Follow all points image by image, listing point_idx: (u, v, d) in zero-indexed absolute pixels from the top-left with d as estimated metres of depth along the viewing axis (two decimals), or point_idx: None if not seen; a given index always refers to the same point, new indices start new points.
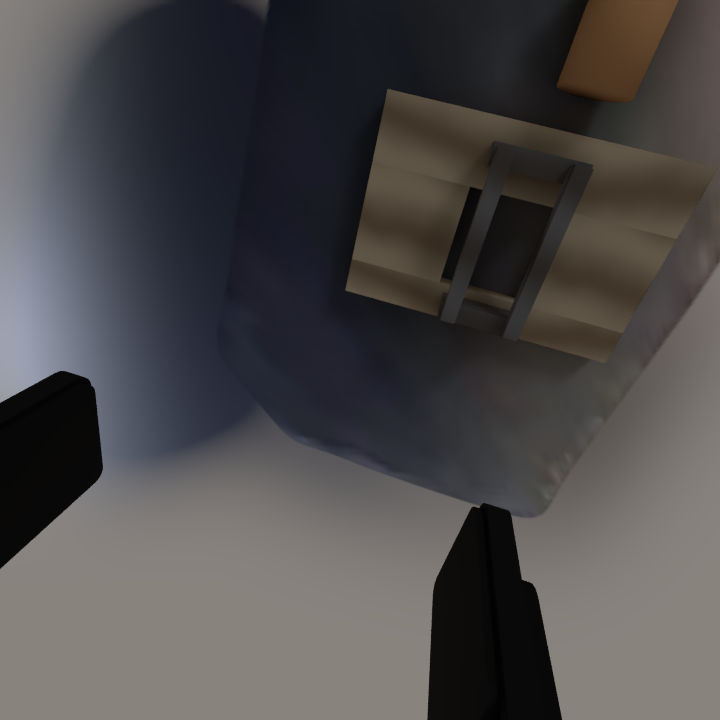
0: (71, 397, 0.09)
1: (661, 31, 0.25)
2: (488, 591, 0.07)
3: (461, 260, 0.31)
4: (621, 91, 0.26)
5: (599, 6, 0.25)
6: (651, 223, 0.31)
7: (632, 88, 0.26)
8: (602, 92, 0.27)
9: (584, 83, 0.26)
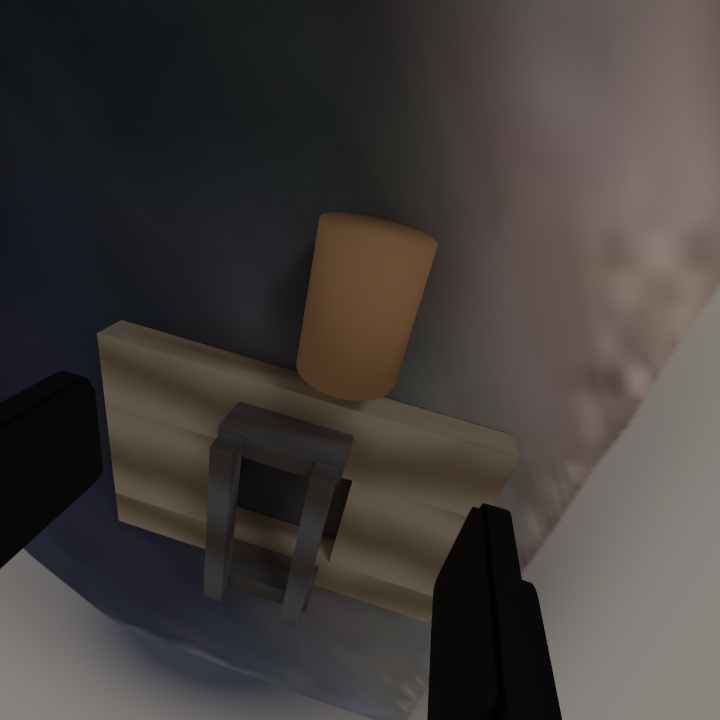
0: (71, 397, 0.09)
1: (402, 331, 0.18)
2: (488, 591, 0.07)
3: (206, 547, 0.24)
4: (362, 399, 0.19)
5: (313, 297, 0.17)
6: (450, 503, 0.24)
7: (379, 391, 0.19)
8: None
9: (313, 385, 0.19)
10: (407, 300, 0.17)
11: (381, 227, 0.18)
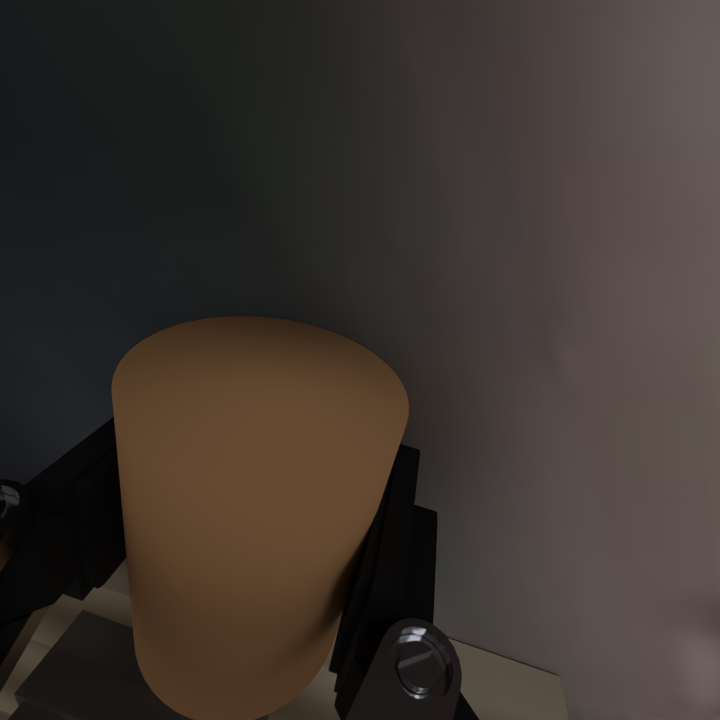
0: None
1: (325, 604, 0.08)
2: (382, 506, 0.08)
3: None
4: (245, 717, 0.09)
5: (123, 521, 0.08)
6: None
7: (285, 696, 0.09)
8: None
9: None
10: (326, 563, 0.07)
11: (287, 363, 0.08)
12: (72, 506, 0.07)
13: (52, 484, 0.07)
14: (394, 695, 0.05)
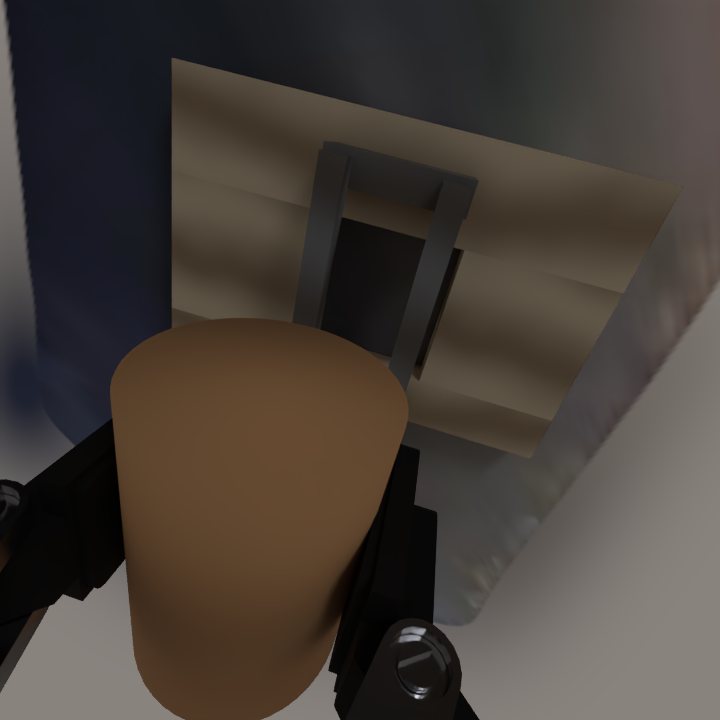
0: None
1: (325, 607, 0.08)
2: (382, 506, 0.08)
3: None
4: None
5: None
6: (584, 269, 0.20)
7: (285, 698, 0.09)
8: None
9: None
10: (325, 566, 0.07)
11: (286, 366, 0.08)
12: (72, 506, 0.07)
13: (52, 484, 0.07)
14: (394, 695, 0.05)
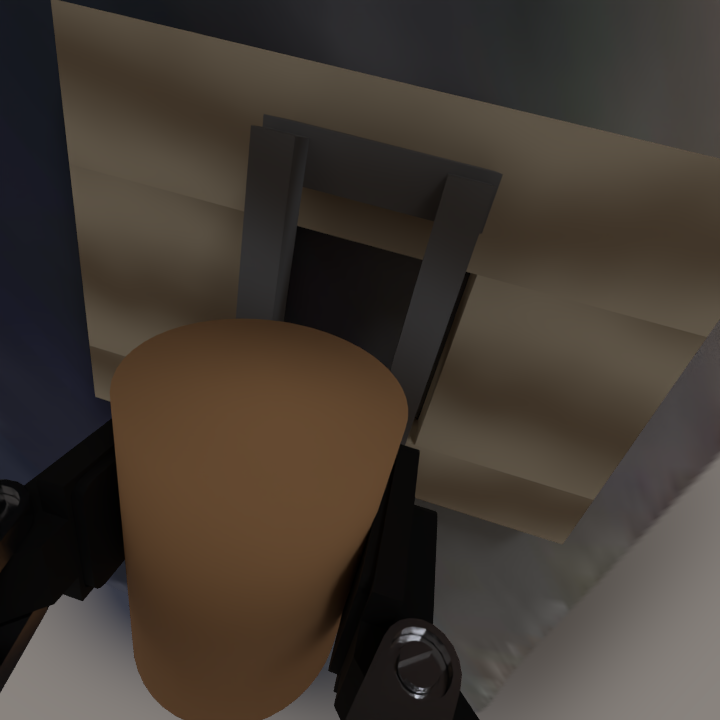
0: None
1: (324, 608, 0.08)
2: (382, 506, 0.08)
3: None
4: None
5: None
6: (651, 303, 0.14)
7: (284, 699, 0.09)
8: None
9: None
10: (325, 567, 0.07)
11: (286, 367, 0.08)
12: (72, 506, 0.07)
13: (52, 484, 0.07)
14: (394, 695, 0.05)
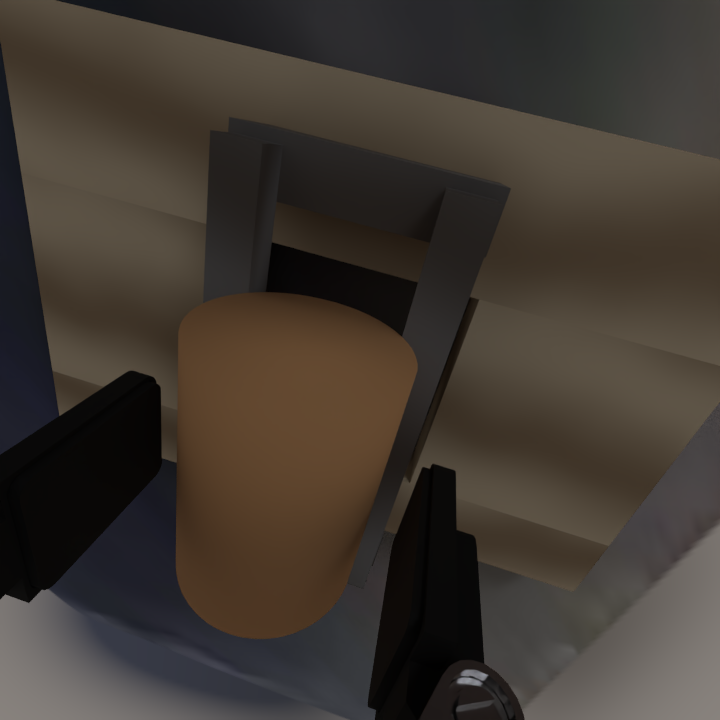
0: (143, 395, 0.09)
1: (346, 530, 0.09)
2: (424, 534, 0.08)
3: None
4: (275, 634, 0.10)
5: (177, 459, 0.09)
6: (679, 333, 0.12)
7: (309, 617, 0.10)
8: None
9: None
10: (349, 488, 0.08)
11: (314, 329, 0.09)
12: (9, 505, 0.07)
13: None
14: None
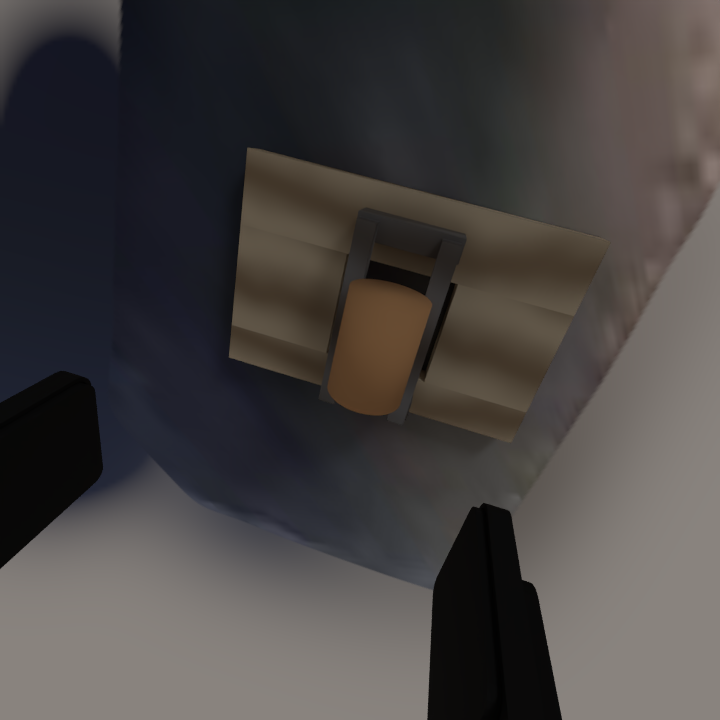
0: (71, 397, 0.09)
1: (405, 366, 0.24)
2: (488, 591, 0.07)
3: (332, 338, 0.28)
4: (374, 414, 0.25)
5: (342, 339, 0.24)
6: (545, 299, 0.28)
7: (387, 409, 0.26)
8: None
9: (339, 402, 0.26)
10: (408, 344, 0.24)
11: (393, 291, 0.25)
12: None
13: None
14: None
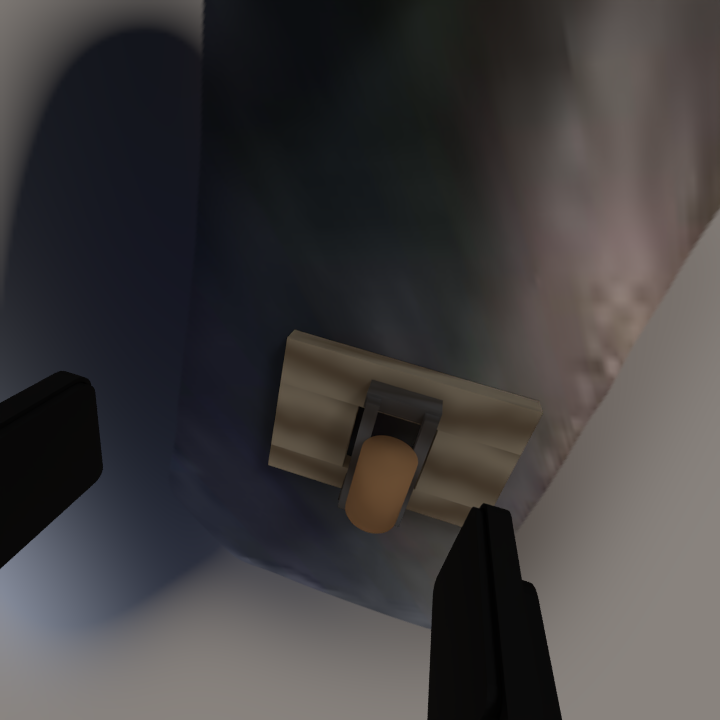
0: (71, 397, 0.09)
1: (399, 503, 0.36)
2: (488, 591, 0.07)
3: (348, 470, 0.39)
4: (378, 532, 0.37)
5: (356, 485, 0.36)
6: (500, 443, 0.39)
7: (387, 528, 0.37)
8: None
9: (354, 523, 0.37)
10: (401, 492, 0.35)
11: (391, 450, 0.36)
12: None
13: None
14: None
